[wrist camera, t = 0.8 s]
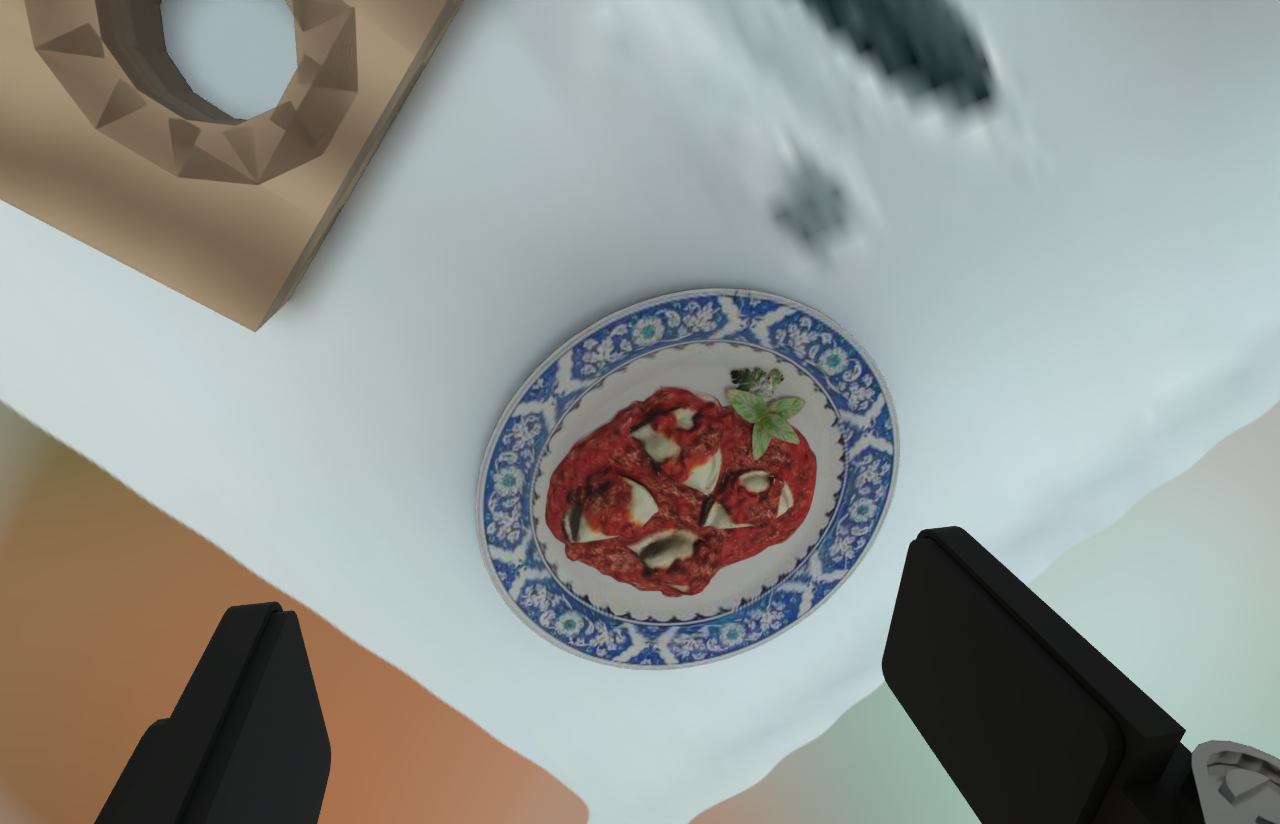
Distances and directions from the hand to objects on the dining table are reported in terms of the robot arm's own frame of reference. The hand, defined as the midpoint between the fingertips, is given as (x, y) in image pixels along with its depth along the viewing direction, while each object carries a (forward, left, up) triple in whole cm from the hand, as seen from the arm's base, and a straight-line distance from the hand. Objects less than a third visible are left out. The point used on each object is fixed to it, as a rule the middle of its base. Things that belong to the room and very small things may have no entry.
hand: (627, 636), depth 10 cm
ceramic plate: (+6, +15, -26) cm, 31 cm away
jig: (-1, -15, -26) cm, 30 cm away
